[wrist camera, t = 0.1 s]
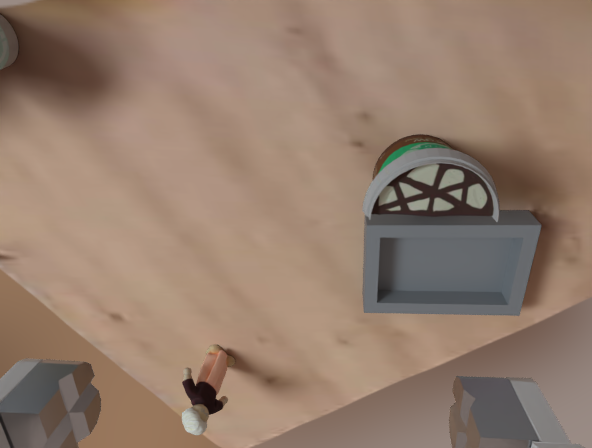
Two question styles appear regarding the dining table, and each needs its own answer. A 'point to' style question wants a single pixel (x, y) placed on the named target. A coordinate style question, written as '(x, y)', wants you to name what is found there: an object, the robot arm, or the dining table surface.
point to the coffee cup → (7, 43)
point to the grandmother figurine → (205, 389)
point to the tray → (448, 263)
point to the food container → (430, 182)
